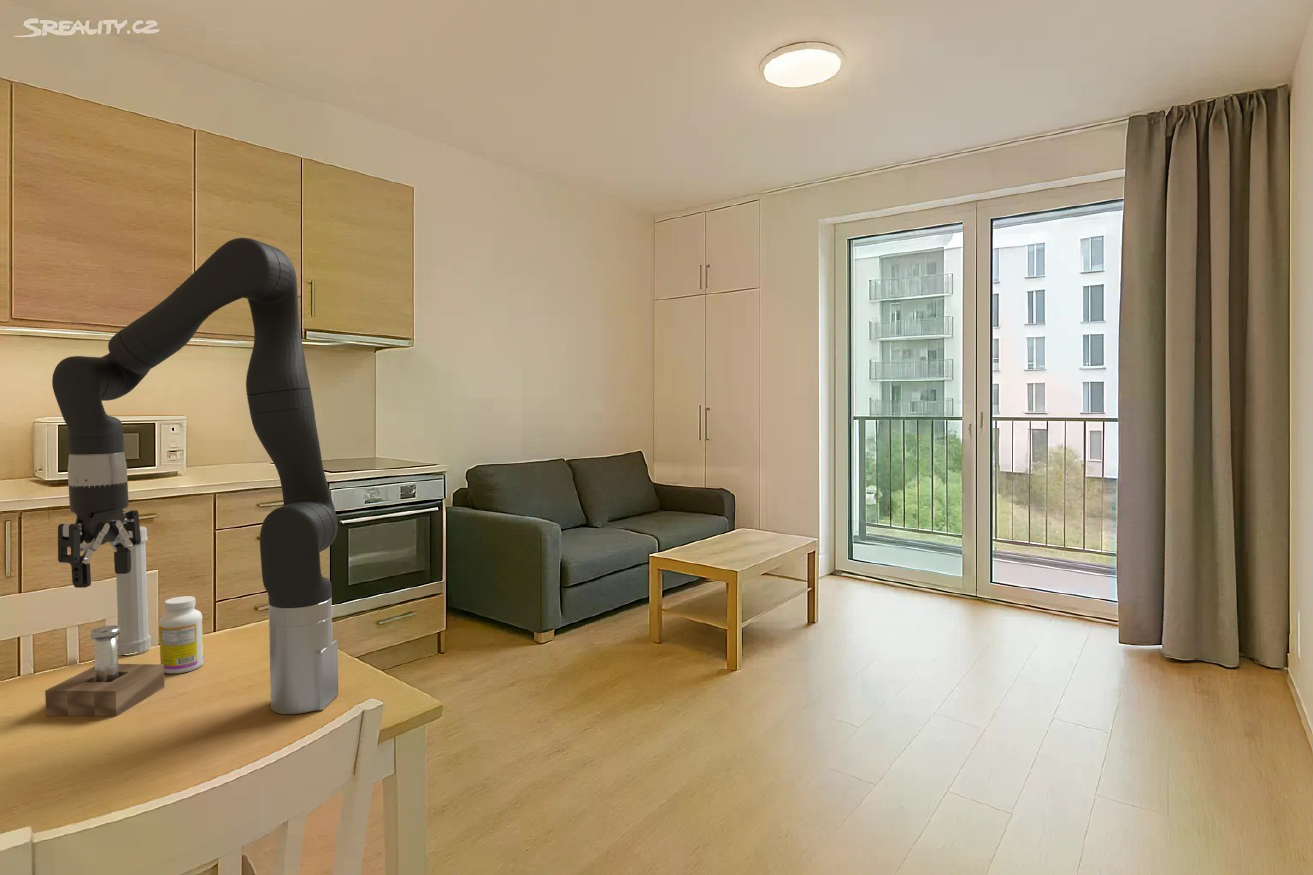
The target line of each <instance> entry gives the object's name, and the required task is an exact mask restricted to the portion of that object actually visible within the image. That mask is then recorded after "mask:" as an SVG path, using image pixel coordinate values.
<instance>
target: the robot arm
mask: <svg viewBox="0 0 1313 875" xmlns="http://www.w3.org/2000/svg"><path fill="white" fill-rule="evenodd" d="M296 273H297V272H296V269H295V267H294V263H293V262H292V260H291V259H290V258H289V256H288V255H287V254H286V253H285V252H284V251H283V250H281V249H279V248H277V247H275V246H273V245H271V244H267V243H265V242H262V241H259V240H257V239H253V238H249V237H237V238H233V239H230V240H228V241H227V242H225V243H224V244H222V245H221V246H220V247H219V248H217V249H216V250H215V251H214V252H213V253H212V254H211V255H210V256H209V257H207V259H206V260H205V261H204V262H203V263H202V264H201V265H200V266H199V267H198V268H197V269H196V270H195V271H194V272H193V273H192V274H191V275H190V276H189V277H188V278H186V280H184V282H182V283H181V284H180V285H179V286H178V287H177V288H176V289H175V290H173V292H171V293H170V294H169V295H168V296H167V297H165V298H164V299H163V300H162V301H161V302H160V303H158V304H157V305H155V306H153V307H152V308H151V309H150V310H148V311H147V312H145V313H144V314H143V315H142V316H140V317H138V318H137V319H135V320H134V321H132V322H131V323H129V324H127V326H125V327H123V328H122V329H120V330H119V331H118V332H117V333H115V334H114V335H113V336H111V338H110V339H109V341H108V344H107V349H108V352H109V353H107V354H105V355H103V356H100V357H99V356H98V357H97V356H83V355H71V356H68V357H65V358H63V359H62V360H60V362H59V363H58V364H56V366H55V368H54V371H53V374H52V379H51V385H52V390H53V394H54V397H55V400H56V403H57V405H58V407H59V410H60V413H61V416H62V419H63V421H64V423H65V426H66V428H67V443H68V444H67V445H68V454H69V455H68V464H67V481H68V482H67V483H68V484H67V486H68V500H69V510H70V512H72V513H73V514H75V515H76V519H75V522H74V523H60V524H58V526H57V561H58V562H59V563H61V564H63V563H64V564H69V565H70V566H71V583H72V584H73V587H75V588H77V589H78V588H79V589H81V588H88V587H90V586H92V577H91V576H92V575H91V563H89V562H90V561H91V558H92V556H93V554H94V552H96V551H98V550H99V548H100V546H101V545H104V544H106V543H108V544H110V545H111V547H112V548H113V549H114V552H113V563H114V573H115V575H116V574H127V573H129V572H130V571H131V550H132V549H133V547H134V546H135V545H138V544H140V543H141V535H140V526H141V525H140V517H139V511H138V509H137V510H136V509H135V510H133V509H128V507H129V486H128V485H129V484H128V482H129V481H128V466H127V465H128V464H127V460H126V457H125V441H124V440H125V439H124V427H123V424H122V422H121V419H119V418H117V417H114V416H112V415H108V414H107V412H106V411H105V408H104V405H103V401H105V402H106V401H115V400H117V399H120V398H122V397H123V396H126V395H127V394H129V393H130V392H132V391H133V390H134V389H135V388H136V387H137V386H138V385H139V384H140V383H141V381H143V379H144V378H145V377H146V376H147V375H148V373H149V372H150V370H151V369H153V368H155V367H156V366H158V365H160V364H161V363H163V362H165V360H167V359H169V358H170V357H172V356H173V355H174V354H176V353H177V352H179V351H180V350H181V349H183V348H184V347H185V346H186V345H187V344H188V343H189V342H190V340H192V338H193V336H195V334H196V332H198V330H199V328H200V326H202V324H203V323H204V321H206V320H207V319H208V318H209V317H210V316H211V315H213V314H214V313H215V312H217V311H218V310H219V309H221V308H223V307H225V306H227V305H230V304H231V303H234V302H236V301H238V300H240V299H242V298H243V299H247V302H248V305H249V308H250V314H251V317H252V324H253V332H254V333H253V334H254V336H253V337H254V340H253V345H252V346H253V348H252V352H251V355H250V359H249V364H248V368H247V371H246V380H245V387H246V388H245V390H246V397H247V398H246V399H247V402H248V403H247V404H248V410H249V416H250V420H251V423H252V427H253V429H254V432H255V434H256V436H257V438H258V440H259V441H260V443H261V445H262V447H263V448H264V450H265V452H266V453H267V454H268V455H269V456H268V457H269V458H270V459H271V461H272V463H273V464H274V466H275V468H276V471H277V474H278V477H279V481H280V486H281V492H282V500H283V505H282V506H279V507H277V508H275V509H273V510H271V511H270V512H269V513H268V514H267V515H266V517H265V518H264V520H263V521H262V524H261V527H260V533H259V536H260V537H259V550H260V553H259V554H260V564H261V566H260V567H261V577H262V583H263V587H264V590H265V591H266V594H267V595H268V621H269V622H268V628H269V629H268V630H269V632H268V633H269V637H268V638H269V676H270V678H269V680H270V681H269V682H270V683H269V684H270V706H271V710H272V711H273V712H275V713H277V714H284V715H297V714H305V713H308V712H313V711H322V710H324V709H325V708H326V707H327V706H329V705H330V703H331V702H332V701H333V700H334V699H335V698H336V697H337V696H339V650H338V649H339V648H338V645H339V644H338V640H337V639H333V615H332V614H333V609H332V608H333V606H332V603H333V602H332V599H333V596H332V595H333V592H332V582H331V580H330V579H329V578H328V577H326V576H323V575H322V569H321V555H320V554H321V553H322V552H323V551H325V550H326V549H327V548H329V547H330V546H331V545H332V544H333V542H334V541H335V539H336V537H337V534H338V529H339V525H338V518H337V517H338V516H337V512H336V509H335V505H334V502H333V499H332V495H331V492H330V489H329V484H328V481H327V478H326V473H325V469H324V465H323V459H322V451H321V445H320V440H319V434H318V430H317V428H318V427H317V422H316V416H315V414H316V413H315V407H314V402H313V396H312V395H313V394H312V390H311V384H310V380H309V376H308V369H307V363H306V357H305V352H304V347H303V342H302V334H301V329H300V313H299V300H298V299H299V297H298V295H299V294H298V283H297V280H298V279H297V274H296ZM124 509H125V510H124ZM129 531H132V534H133V538H129V537H130V535H129ZM68 548H70V554H68ZM115 550H117V551H116V552H115ZM82 552H83V553H82ZM81 553H82V555H81Z"/></svg>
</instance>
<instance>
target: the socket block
mask: <svg viewBox="0 0 1313 875" xmlns="http://www.w3.org/2000/svg"><path fill="white" fill-rule="evenodd" d="M118 673H119V678H117V679H115V680H114V681H112V682H96V679H95V665H94V666H92V667H90V668H88V669H86V670H84V671H82V672H80V673H78V674H76V675H74V676H71V677H69V678H68V679H66V680H64V681H62V682H60V683H58V684H55V685H53V686H51V687H49V688H48V689H45V690H44V693H45V694H44V695H45V714H46V716H56V717H57V716H63V717H64V716H66V717H67V716H68V717H71V716H73V717H74V716H75V717H76V716H77V717H78V716H79V717H80V716H82V717H118V716H119V715H120V714H122V713H124V712H126V711H128V710H130V709H131V708H133V707H134V706H135V705H138V704H139V703H141V702H143V701H144V700H145V699H147V698H149V697H151V696H152V695H154V694H155V693H157V692H159V691H160V690H162V689H164V688H165V673H164V664H161V663H160V664H158V663H157V664H156V663H155V664H154V663H153V664H152V663H151V664H150V663H149V664H148V663H147V664H144V663H142V664H141V663H139V664H138V663H118Z"/></svg>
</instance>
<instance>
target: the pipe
mask: <svg viewBox="0 0 1313 875" xmlns="http://www.w3.org/2000/svg"><path fill="white" fill-rule="evenodd" d="M123 510H126V508H125V509H123ZM129 535H130V537H129V538H133V534H132V531H129ZM140 535H141V543H140V544H138V545H135V546H134V547H133V549H132V550H131V571H130V572H129V573H127V574H116V573H115V575H116V602H117V604H116V605H117V626H120V634H119V635H118V638H117V646H118V656H122V655H124V654H130V653H135V652H138V653H136V654H130V655H129V656H136V655H141V654H143V653H146V652H148V651H150V649H151V644H152V642H151V641H152V640H151V639H152V635H151V634H149V611H148V609H149V608H148V579H147V554H146V553H147V551H146V550H147V549H146V548H147V547H146V542H148V541H149V537H148V530H147V527H146V526H141V525H140ZM116 551H117V550H115V549H114V552H116ZM127 657H128V655H127Z"/></svg>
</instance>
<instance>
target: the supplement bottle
mask: <svg viewBox="0 0 1313 875" xmlns="http://www.w3.org/2000/svg"><path fill="white" fill-rule="evenodd" d="M196 603H197V602H196V597H195V596H191V595H189V596H188V595H186V596H177V597H172V598H168V599H166V600H165V601H164V609H165V611H166V613H164V614H163V615H162V616H161V617H160V618H159V621H158V630H159V631H158V633H159V650H160V651H159V653H160V664H164V674H169V675H170V674H171V675H174V674H183V673H188V672H192V671H194V670H196V669H198V668H200V667H202V666H203V664H204V662H205V655H204V654H205V652H204V651H205V650H204V626H203V615H202V612H201V611H200V610H198V609H195V606H196V605H197V604H196Z"/></svg>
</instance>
